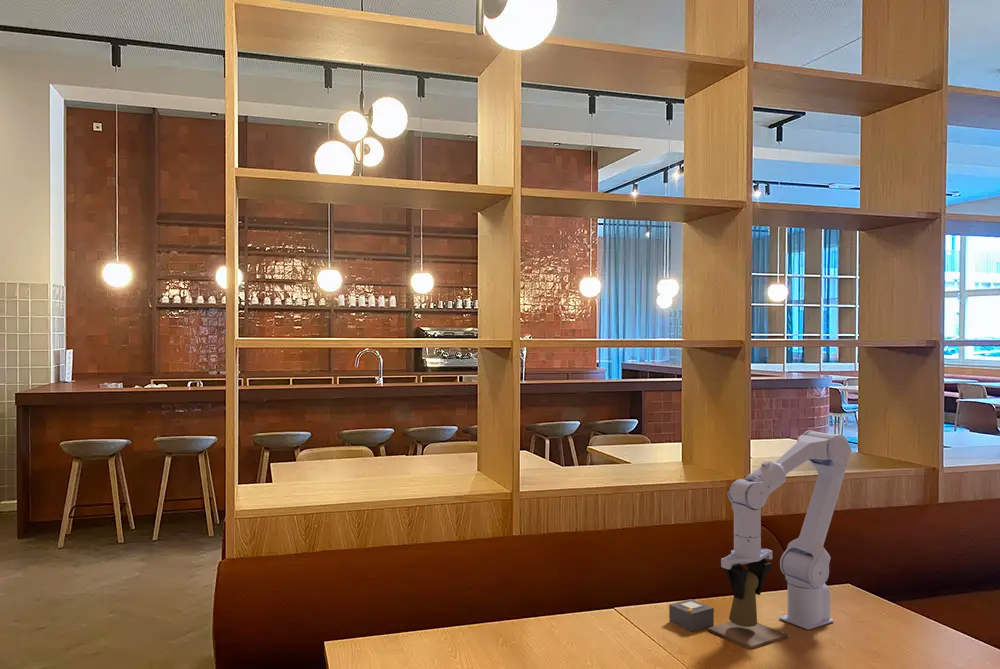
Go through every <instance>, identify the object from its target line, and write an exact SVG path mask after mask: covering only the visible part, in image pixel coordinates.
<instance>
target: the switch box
mask: <svg viewBox="0 0 1000 669" xmlns="http://www.w3.org/2000/svg"><path fill="white" fill-rule="evenodd" d="M687 602H694V603H696V604H699V605H701V606H702V608H699V609H695V610H692V609H687V608H684V607H682V606H681V604H683V603H687ZM668 606H669V608H668V609H669V610H668V611H669V612H668V615H669V616H668V617H669V623H671V624H673V625H675V626H677V627H680V628H682V629H684V630H687V631H689V632H696V631H698V630H702V629H703V630H704V629H706V628H710V627H713V626H715V625H714V623H715V622H714V620H715V618H714V612H715V611H714V609H715V608H714V607H712V606H710V605H708V604H705V603H704V602H703V603H702V602H699V601H697V600H695V599H692V598H690V599H685V600H682V601H678V602H675V603H674V602H673V603H670V604H669V605H668Z"/></svg>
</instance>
